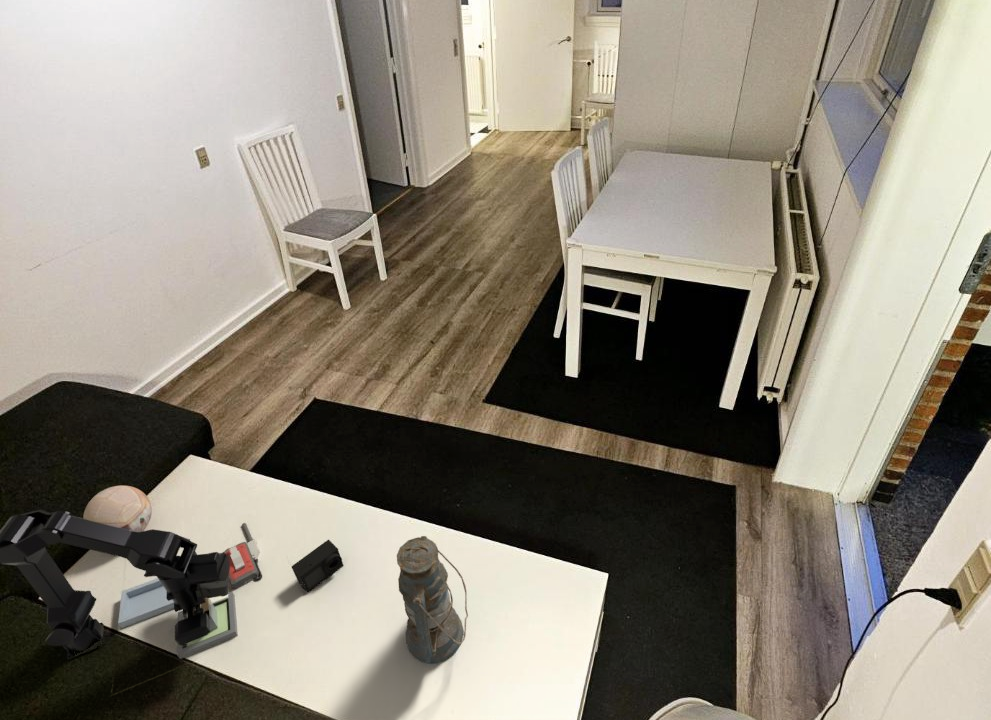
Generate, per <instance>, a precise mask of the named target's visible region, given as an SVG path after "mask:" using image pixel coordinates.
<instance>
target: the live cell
mask: <svg viewBox="0 0 991 720" xmlns="http://www.w3.org/2000/svg"><path fill="white" fill-rule="evenodd" d="M201 608H203V609H204V611H207V610H209V615H210V620H209V621H210V631H212V630H214V629H217V628H218V619H217V610H216V608H215V607H214V605H213V603H212V602H211V600H210V599H209V598H206V602H205V603H203V604H201ZM195 610H196V609H195ZM187 616H188V614H187Z"/></svg>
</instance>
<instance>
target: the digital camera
mask: <svg viewBox="0 0 991 720" xmlns="http://www.w3.org/2000/svg"><path fill="white" fill-rule="evenodd" d="M343 567H344V562H343V557H341V555H340V552H339V548H338V547H337V546H336V545H335V544H334V543H333V542H332V541H331V540H330V539H326V541H324V542H323V543H322V544H320V545H319V546H317V547H316V548H314V549H313V550H312V551H310V552H309V553H307V554H306V555H305V556H304V557H302V558H300V560H298V561H296V563H294V564H292V565H291V569H292V571H293V574H294V576H295V578H296V581H297V582H298V583H299V585H300V586H301V588H302V589H303V590H304V591H305V592H306V594H309V593H310V592H312V591H313V590H315V588H317V587H318V586H319V585H321V584H323V582H325V581H326V580H327V579H329V578H330V577H331V576H333V575H334V574H335V573H337V572H338V570H340V569H341V568H343Z"/></svg>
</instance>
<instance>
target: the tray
mask: <svg viewBox="0 0 991 720" xmlns="http://www.w3.org/2000/svg"><path fill="white" fill-rule="evenodd" d="M120 594H121V595H120V602H119V603H120V605H119V615H118V622H117V623H118V626H120V627H121V628H122V629H123V628H127V627H128V626H131V625H134V624H136V623H140V622H142V621H144V620H147V619H149V618H152V617H155V616H157V615H160V614H163V613H165V612H167V611H170V610H174V601H173V600H170V601H168V600H167V598H166V596H167V591H166V589H165V588H164V586H163V585H162V583H161V582H160V580H159V579H158V577H156V578H154V579H152V580H149V581H147V582H143V583H140V584H138V585H135V586H133V587H129V588H127V589H125V590H122V591H121V593H120Z"/></svg>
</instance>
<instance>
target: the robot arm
mask: <svg viewBox="0 0 991 720" xmlns="http://www.w3.org/2000/svg"><path fill="white" fill-rule="evenodd" d="M59 543H61V544H65V545H69V546H74V547H78V548H82V549H87V550H91V551H93V552H100V553H104V554H108V555H112V556H116V557H120V558H123V559H126V560H127V561H128V562H129V563H130V564H131V565H132V566H133V568H135V569H138V570H142V571H144V574H143V577H145V578H151V577H156V578H158V579H159V580H160V582H161V583H162V585H163V586H164V588H165V589H166V591H167V596H166V598H167V600H168V601H170V600H173V601H174V608H173V610H174V612H175V613H178V612H180V611H183V615H186V614H188V616H187V618H185V619H183V620H181V621H178V620H177V622H176V624H175V625H174V641H175V642H176V643H177V644H178V645H184V644H185V645H187V643H189V642H191V641H194V640H196V639H199V638H201V637H204V636H206V635H208V633H209V632H210V621H209V620H210V615H209V610H207V611H204V609H203V608H201V604H203V603H205V602H206V598H213V597H219V596H226V595H227V594H228V593H229V592H230V580H229V570H230V561H229V557H228V555H227V554H225V553H223V552H218V551H214V552H209V553H201V554H197V552H196V550H197V548H198V544H197V543H196V542H193V541H191V539H190V538H187V537H185V536H184V537H183V536H181V535H178V534H177V533H175V532H172V531H166V530H160V529H154V528H153V529H148V530H144V531H142V532H135V531H130V530H126V529H122V528H118V527H114V526H110V525H106V524H102V523H99V522H95V521H91V520H87V519H83V517H80V516H79V517H78V516H75V515H74V514H73V513H71V512H69V511H66V510H57V511H53V512H49V511H46V510H43V509H36V510H32V511H29V512H26V513H25V512H24V513H21V514H14V515H12V516H10V517H9V518H8V519H7V521H6V522H5V524H4V525H3V527H1V529H0V564H1V565H9V566H16V567H17V568H18V570H19V571H20V572H21V574H22V575H23V576H24V578H25V579H26V580H27V582H28V583H29V585H30V586H31V587H32V588H33V590H34V591H35V592H36V593H37V595H38V596H39V597H40V599H41V600H42V601H43V603H44V604H45V606H46V607H47V610H46V611H47V613H46V623H47V625H48V628H49V630H50V631H49V634H48V636H47V637H46V638H45V641H44V643H46V644H47V645H49V646H51V647H58V646H59V647H60V646H62V647H63V648H64V649H65V650H66V651H67V655H66V659H67V660H68V659H70V660H72V659H71V658H73V657H75V654H76V655H77V653H80V652H83V651H84V650H86V649H88V648H90V647H91V646H92V645H94V643H96V642H98V641H100V639H103V638H104V631H105V628H104V622H99V620H98V619H97V618H93V617H92V615H91V613H92V611H93V608H94V606H95V604H96V602H97V598H96V597H95V596H94V595H93V594H92V591H91V590H77V589H74V588H73V586H72V585H71V584H70V582H69V580H67V577H65V575H64V573H63V572H62V571H61V569H60V568H59V567H58V565H57V563H56V562H55V561H54V559H53V558H52V556H51V555H50V554H49V552H48V551H47V549H46V548H47V546H50V545H56V544H59ZM180 548H182V551H181V554H180V555H178V553H179V550H180ZM195 609H196V610H195ZM99 645H100V644H99ZM74 652H75V653H74ZM69 656H70V657H69ZM75 658H76V657H75ZM73 659H74V658H73Z"/></svg>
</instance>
